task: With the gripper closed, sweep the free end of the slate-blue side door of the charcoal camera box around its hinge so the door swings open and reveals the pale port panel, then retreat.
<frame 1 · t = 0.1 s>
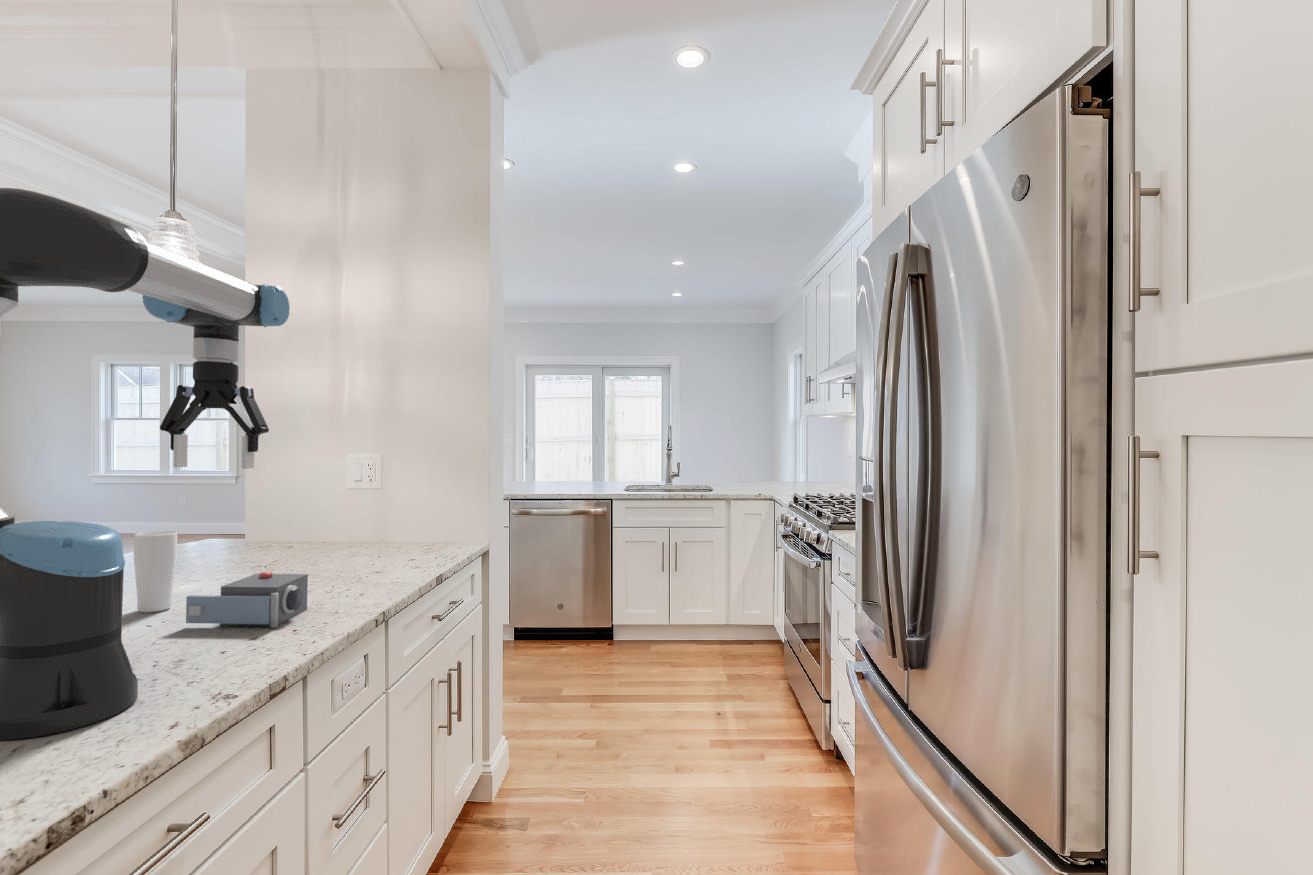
hand: (214, 467, 128), 28 cm above the worktop, fingers open, 13 cm apart
camera box: (265, 616, 122), on the worktop
side door: (231, 610, 114), point 3 cm above the worktop, hinge at 0.0°
drinking glass: (154, 610, 125), on the worktop
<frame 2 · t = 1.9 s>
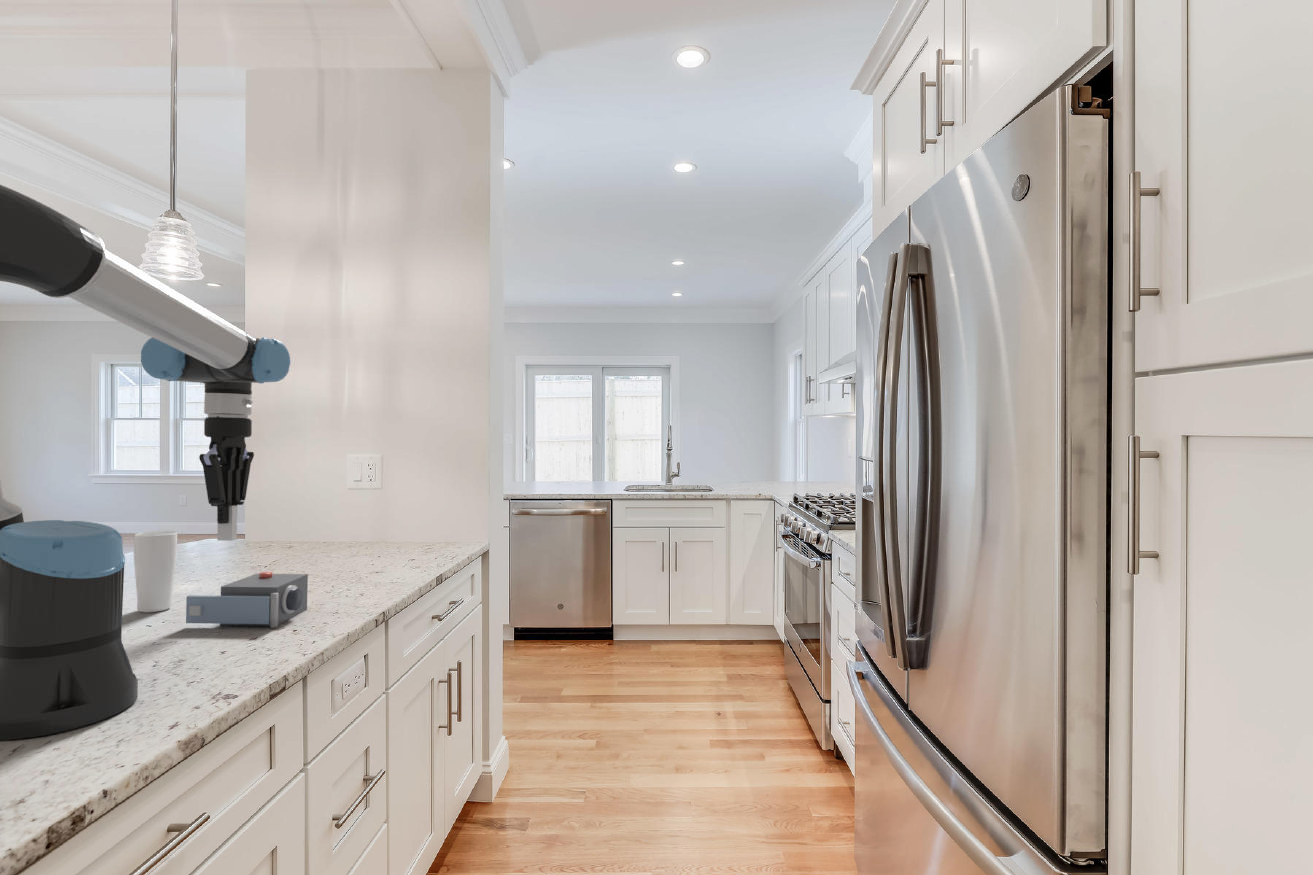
hand: (227, 539, 122), 14 cm above the worktop, fingers closed
nothing on the worktop moved.
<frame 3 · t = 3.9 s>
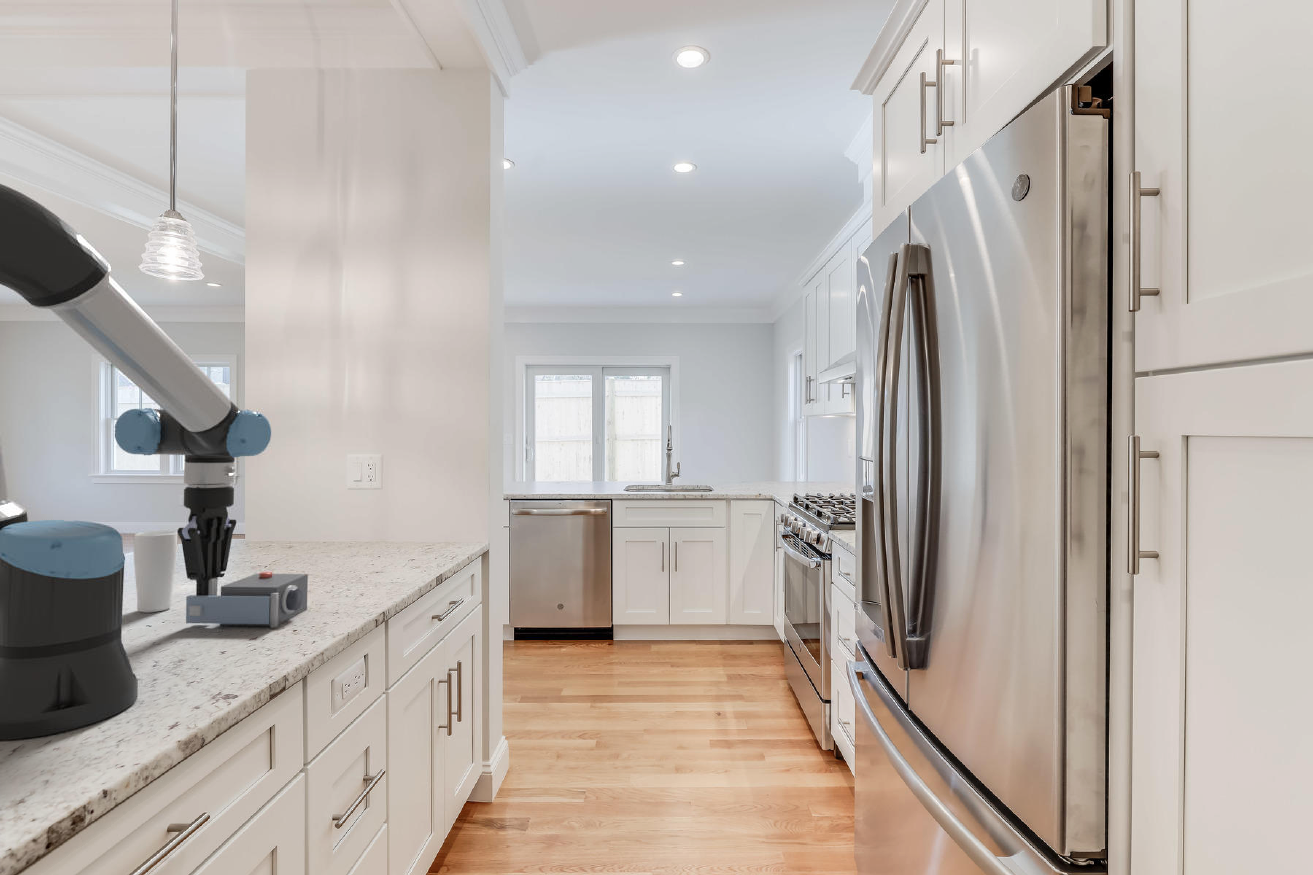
hand: (206, 614, 117), 2 cm above the worktop, fingers closed
side door: (231, 610, 114), point 3 cm above the worktop, hinge at 0.0°, touching gripper
everything else where it was.
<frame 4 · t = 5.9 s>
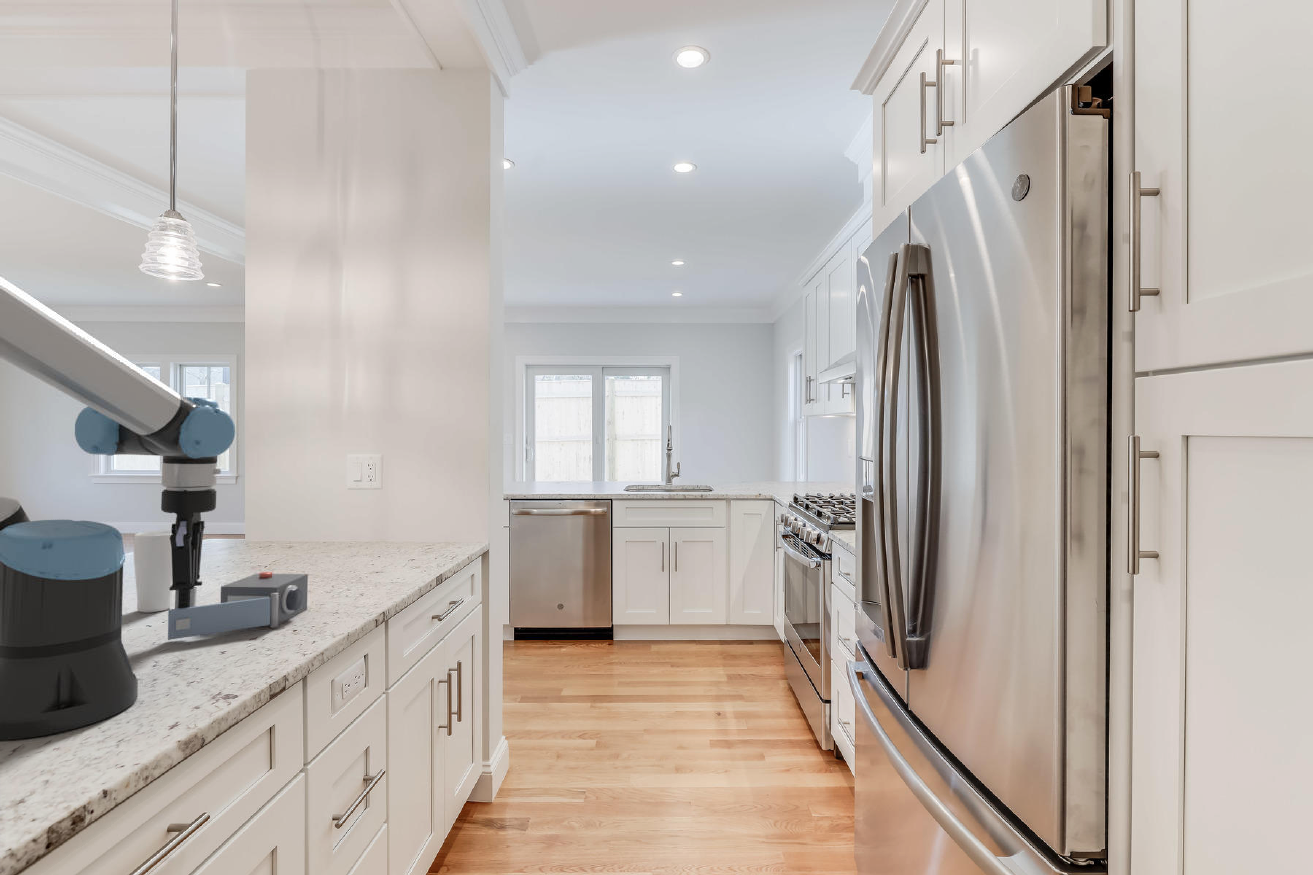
hand: (184, 626, 108), 2 cm above the worktop, fingers closed
side door: (225, 617, 110), point 3 cm above the worktop, hinge at 37.9°, touching gripper
everything else where it was.
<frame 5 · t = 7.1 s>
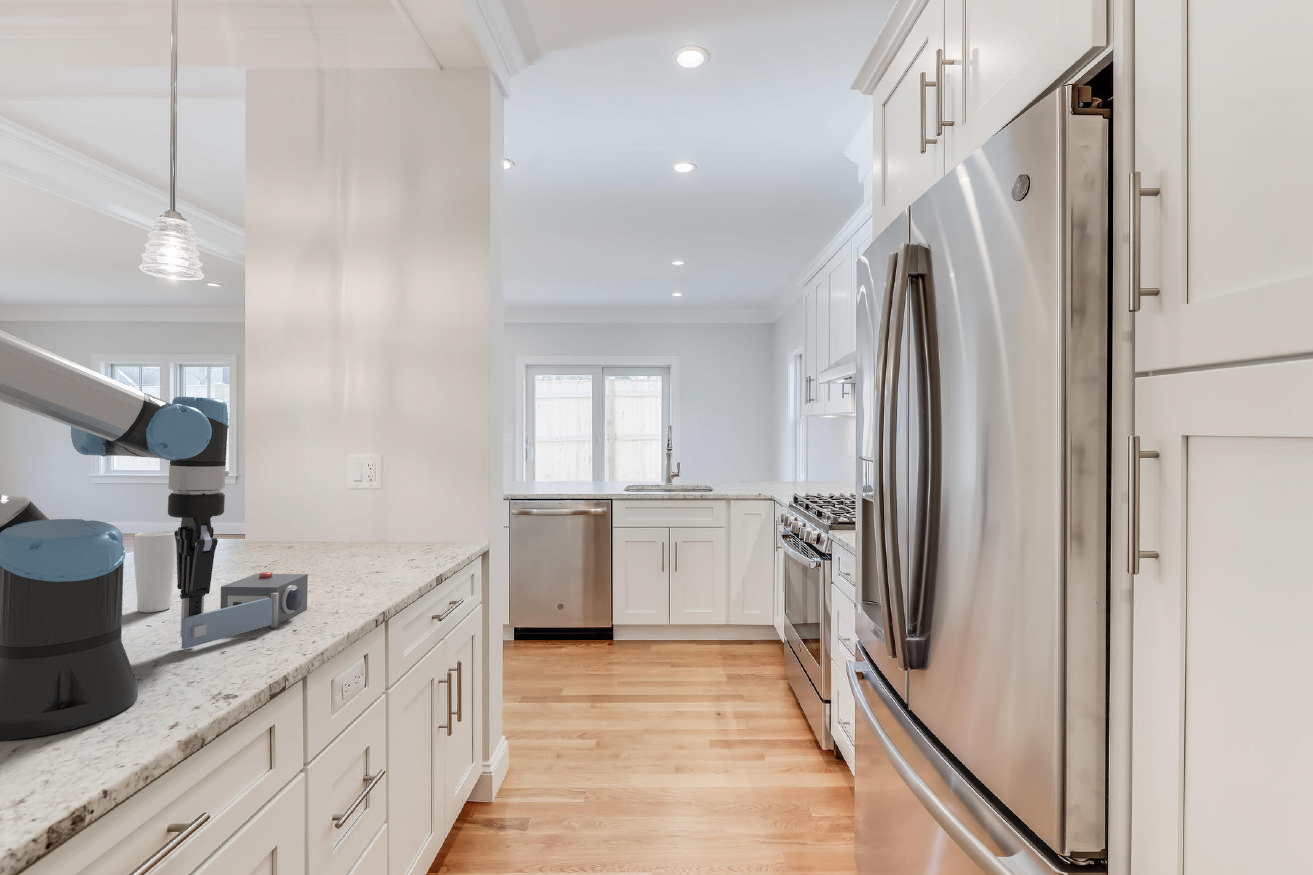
hand: (191, 635, 104), 2 cm above the worktop, fingers closed
side door: (234, 620, 108), point 3 cm above the worktop, hinge at 64.5°, touching gripper
everything else where it was.
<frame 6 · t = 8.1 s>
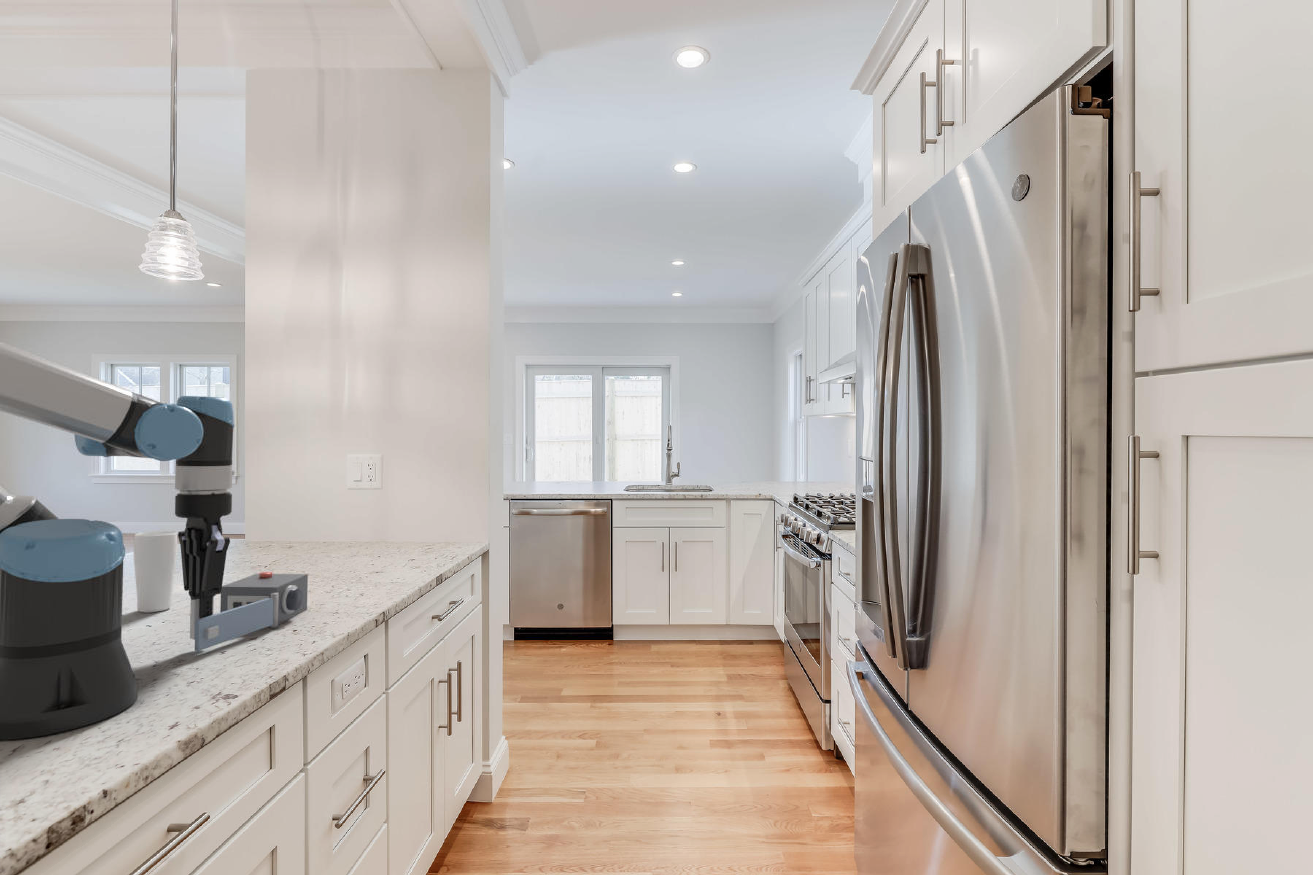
hand: (201, 636, 104), 2 cm above the worktop, fingers closed
side door: (241, 621, 108), point 3 cm above the worktop, hinge at 75.6°
everything else where it was.
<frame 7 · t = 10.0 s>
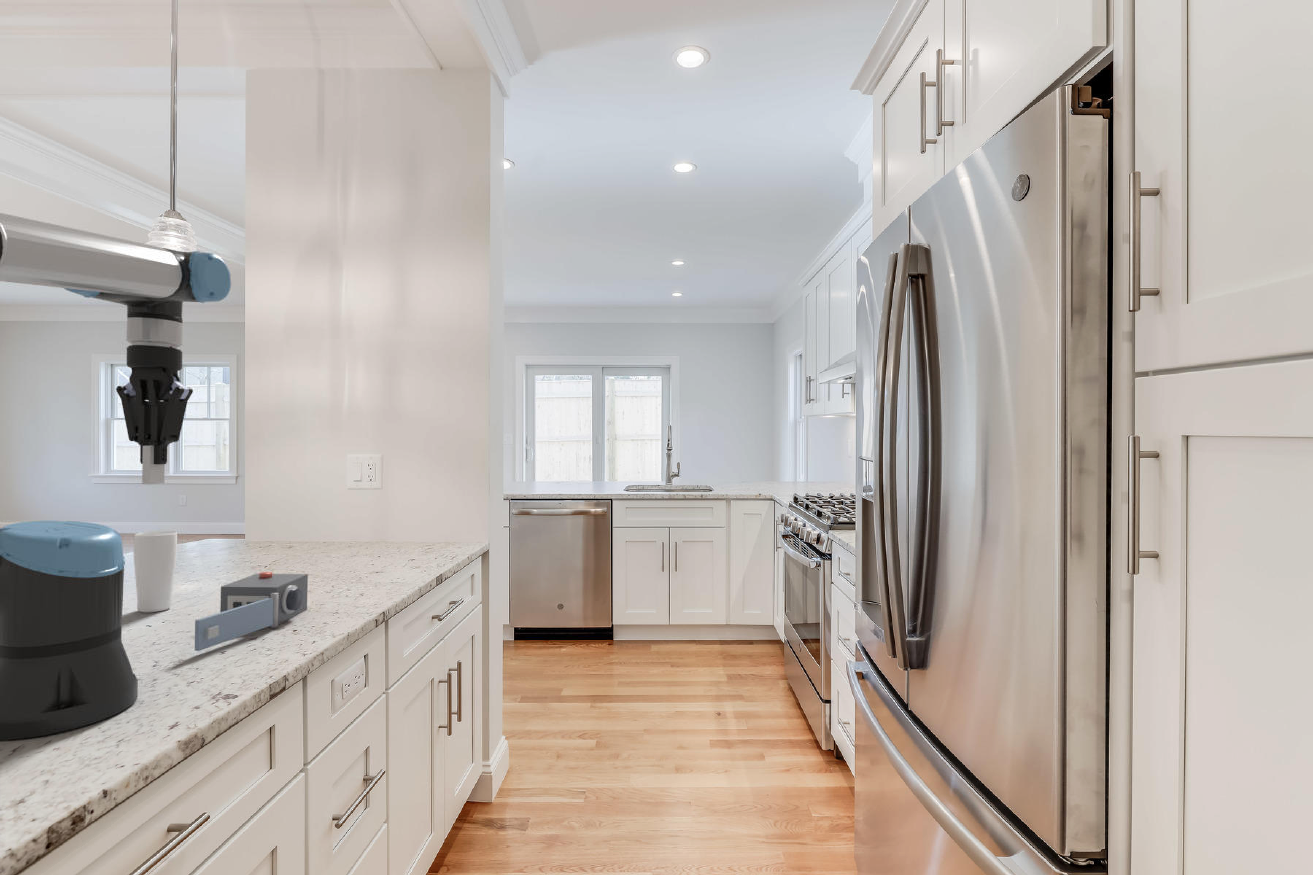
hand: (153, 483, 110), 26 cm above the worktop, fingers closed
nothing on the worktop moved.
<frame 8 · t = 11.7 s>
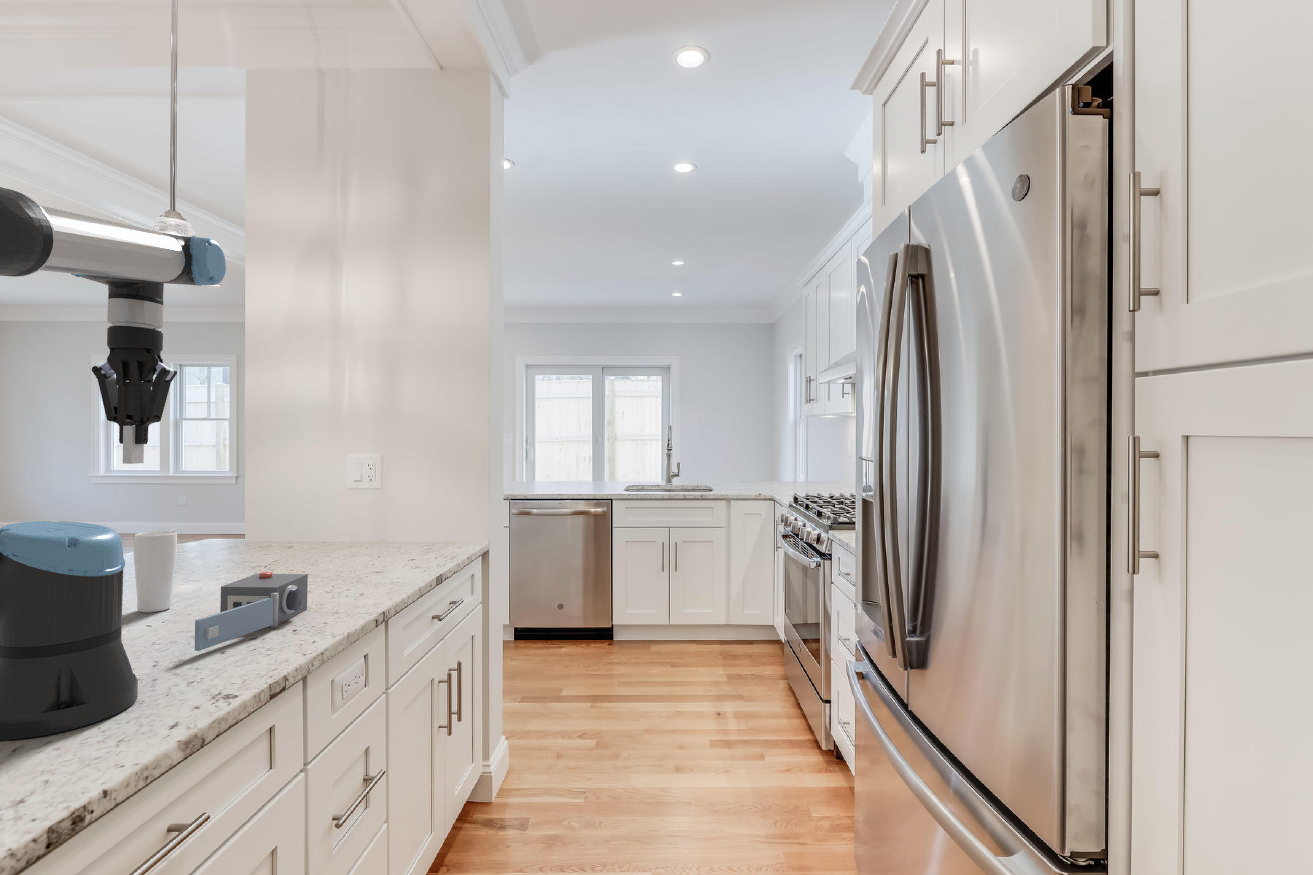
hand: (133, 463, 111), 29 cm above the worktop, fingers closed
nothing on the worktop moved.
at the end: side door at +76° (first picture: +0°) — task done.
